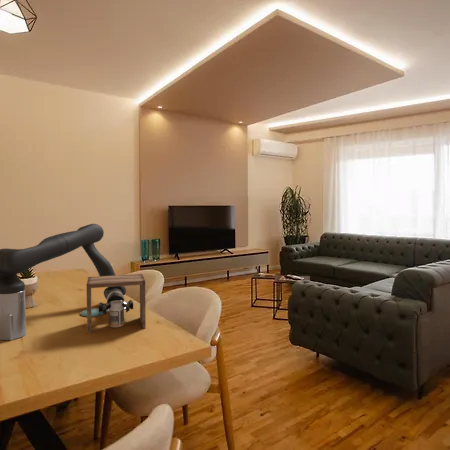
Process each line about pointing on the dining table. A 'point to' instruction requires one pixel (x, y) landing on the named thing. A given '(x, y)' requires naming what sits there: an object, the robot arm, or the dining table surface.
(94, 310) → the mat
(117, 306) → the pill bottle
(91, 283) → the cubby
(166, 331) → the dining table surface
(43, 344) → the dining table surface
